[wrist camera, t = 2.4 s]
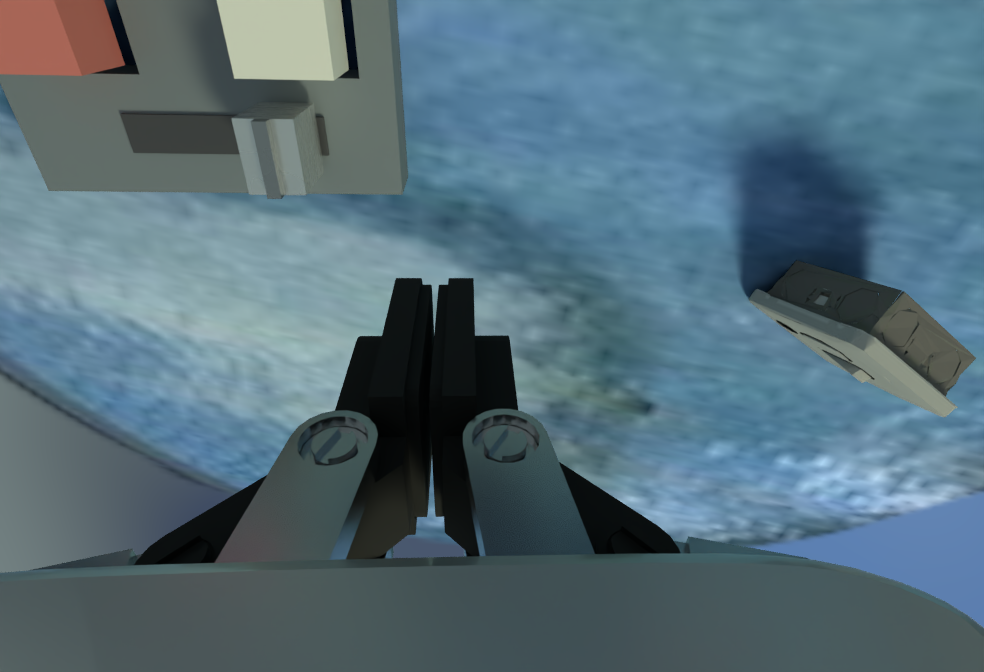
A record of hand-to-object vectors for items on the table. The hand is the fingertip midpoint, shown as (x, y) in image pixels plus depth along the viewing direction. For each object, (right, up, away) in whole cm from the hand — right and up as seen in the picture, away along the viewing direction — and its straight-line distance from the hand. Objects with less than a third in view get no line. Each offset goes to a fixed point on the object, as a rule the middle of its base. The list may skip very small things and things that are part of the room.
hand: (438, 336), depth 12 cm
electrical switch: (+23, +3, +24) cm, 34 cm away
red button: (-17, +14, +11) cm, 25 cm away
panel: (-12, +14, +15) cm, 24 cm away
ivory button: (-7, +14, +11) cm, 19 cm away
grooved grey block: (-8, +10, +14) cm, 19 cm away
